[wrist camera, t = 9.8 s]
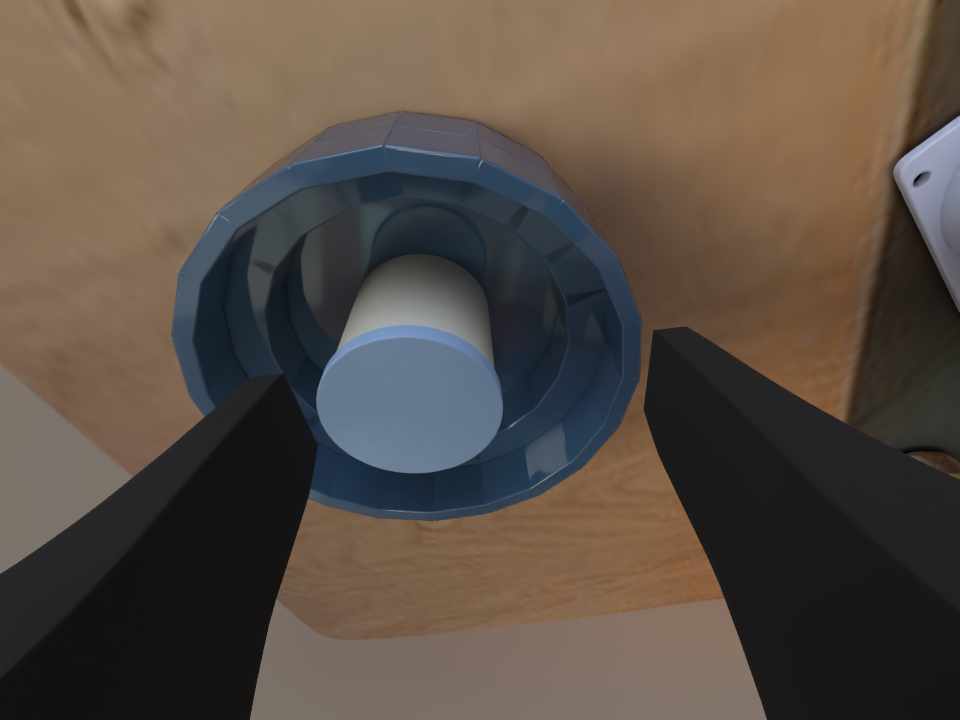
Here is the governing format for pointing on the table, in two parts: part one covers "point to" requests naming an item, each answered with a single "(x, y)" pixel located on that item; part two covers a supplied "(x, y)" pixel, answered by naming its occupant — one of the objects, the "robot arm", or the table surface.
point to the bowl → (418, 230)
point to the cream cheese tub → (414, 369)
